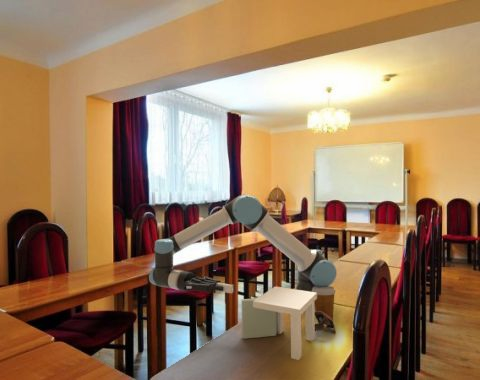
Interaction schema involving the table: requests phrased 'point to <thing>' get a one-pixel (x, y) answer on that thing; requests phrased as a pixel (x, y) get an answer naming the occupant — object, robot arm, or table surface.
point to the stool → (291, 312)
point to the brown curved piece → (323, 321)
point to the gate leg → (258, 321)
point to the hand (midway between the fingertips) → (232, 289)
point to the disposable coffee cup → (324, 299)
